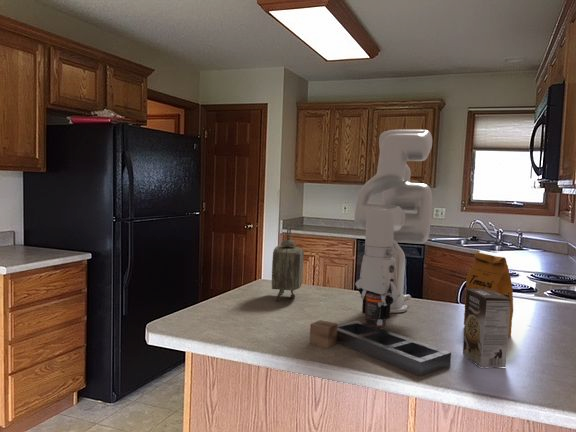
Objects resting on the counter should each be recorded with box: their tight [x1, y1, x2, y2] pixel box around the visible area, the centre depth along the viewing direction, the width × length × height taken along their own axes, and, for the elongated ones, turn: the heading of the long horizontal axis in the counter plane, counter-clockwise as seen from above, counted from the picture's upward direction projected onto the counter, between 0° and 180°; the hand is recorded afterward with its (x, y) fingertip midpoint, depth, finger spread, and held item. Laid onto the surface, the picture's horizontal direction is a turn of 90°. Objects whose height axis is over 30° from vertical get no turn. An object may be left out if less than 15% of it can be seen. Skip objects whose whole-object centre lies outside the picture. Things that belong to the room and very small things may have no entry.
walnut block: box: [309, 319, 339, 349], centre depth 118 cm, size 5×5×5 cm
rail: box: [337, 320, 452, 377], centre depth 114 cm, size 29×11×3 cm, turn 38°
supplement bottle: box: [364, 292, 387, 329], centre depth 131 cm, size 6×6×11 cm
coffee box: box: [462, 288, 511, 368], centre depth 109 cm, size 9×6×16 cm
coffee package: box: [463, 251, 514, 338], centre depth 133 cm, size 10×12×22 cm
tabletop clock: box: [271, 225, 305, 302], centre depth 163 cm, size 14×9×25 cm, turn 172°
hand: (375, 315), depth 132 cm, fingers closed on supplement bottle, 6 cm apart
